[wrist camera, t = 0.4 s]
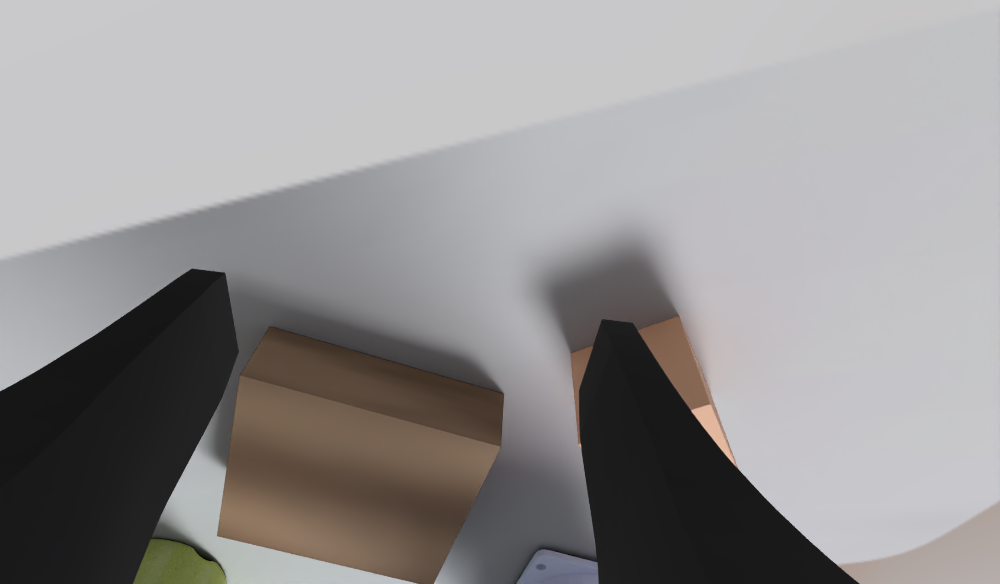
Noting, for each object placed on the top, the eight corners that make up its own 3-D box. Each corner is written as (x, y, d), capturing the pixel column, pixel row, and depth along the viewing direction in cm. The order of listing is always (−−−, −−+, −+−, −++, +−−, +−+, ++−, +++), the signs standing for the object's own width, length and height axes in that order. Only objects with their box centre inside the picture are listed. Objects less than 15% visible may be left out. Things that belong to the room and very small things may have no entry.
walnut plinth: (439, 531, 31) (432, 586, 29) (243, 482, 30) (217, 536, 27) (503, 394, 26) (501, 446, 24) (269, 326, 25) (239, 375, 22)
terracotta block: (711, 394, 26) (746, 491, 22) (609, 426, 27) (624, 523, 23) (678, 314, 24) (710, 404, 19) (570, 352, 25) (578, 444, 21)
